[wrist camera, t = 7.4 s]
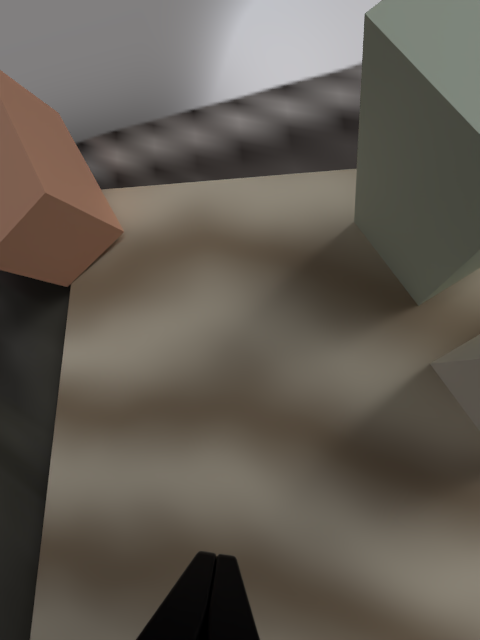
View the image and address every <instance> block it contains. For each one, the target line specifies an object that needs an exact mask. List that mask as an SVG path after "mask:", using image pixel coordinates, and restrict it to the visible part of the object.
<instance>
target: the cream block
mask: <svg viewBox="0 0 480 640" xmlns="http://www.w3.org/2000/svg"><path fill="white" fill-rule="evenodd" d="M430 365H431V366H432V367H433V369H434V370H435V371H436V373H437V374H438V375H439V377H440V378H441V380H442V381H443V382H444V384H445V385H446V386H447V388H448V389H449V390H450V392H451V393H452V394H453V396H454V397H455V398H456V400H457V401H458V403H459V404H460V405H461V407H462V408H463V409H464V411H465V412H466V413H467V415H468V416H469V417H470V419H471V420H472V421H473V423H474V424H475V426H476V427H477V428H478V430H479V431H480V334H479V335H478V336H476V337H474V338H473V339H471V340H469V341H467V342H466V343H464V344H462V345H461V346H459V347H457V348H456V349H454V350H452V351H451V352H449V353H447V354H445V355H444V356H442V357H440V358H439V359H437V360H435V361H434V362H432V363H430Z"/></svg>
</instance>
